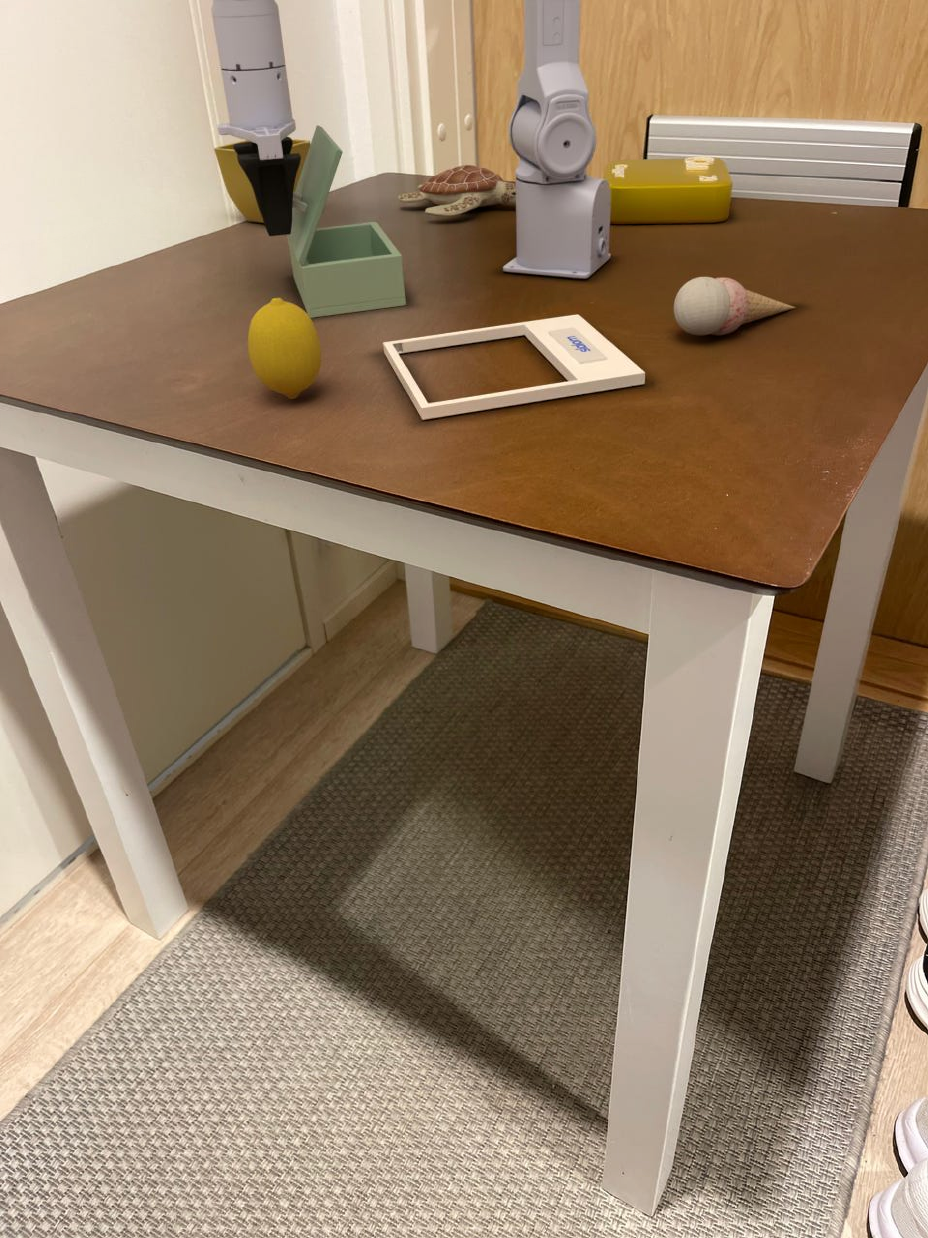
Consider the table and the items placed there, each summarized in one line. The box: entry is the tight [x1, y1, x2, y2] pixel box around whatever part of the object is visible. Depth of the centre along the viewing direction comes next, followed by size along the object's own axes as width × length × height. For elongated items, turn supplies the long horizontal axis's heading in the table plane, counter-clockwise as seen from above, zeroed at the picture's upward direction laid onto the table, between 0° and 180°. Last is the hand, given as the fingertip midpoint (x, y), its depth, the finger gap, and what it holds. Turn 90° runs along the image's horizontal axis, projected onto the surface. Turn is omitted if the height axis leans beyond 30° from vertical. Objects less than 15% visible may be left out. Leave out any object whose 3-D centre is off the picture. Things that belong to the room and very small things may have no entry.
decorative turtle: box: [397, 164, 516, 217], centre depth 121 cm, size 18×17×5 cm
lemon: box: [247, 297, 322, 400], centre depth 73 cm, size 6×6×8 cm
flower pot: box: [213, 138, 311, 224], centre depth 120 cm, size 9×9×9 cm
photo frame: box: [382, 314, 646, 421], centre depth 77 cm, size 15×1×18 cm
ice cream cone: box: [673, 276, 796, 336], centre depth 82 cm, size 5×5×15 cm
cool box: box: [286, 221, 407, 319], centre depth 95 cm, size 10×14×5 cm
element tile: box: [603, 156, 733, 225], centre depth 115 cm, size 15×15×5 cm
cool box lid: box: [286, 125, 344, 264], centre depth 89 cm, size 10×14×5 cm
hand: (276, 227), depth 91 cm, fingers closed on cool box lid, 5 cm apart
